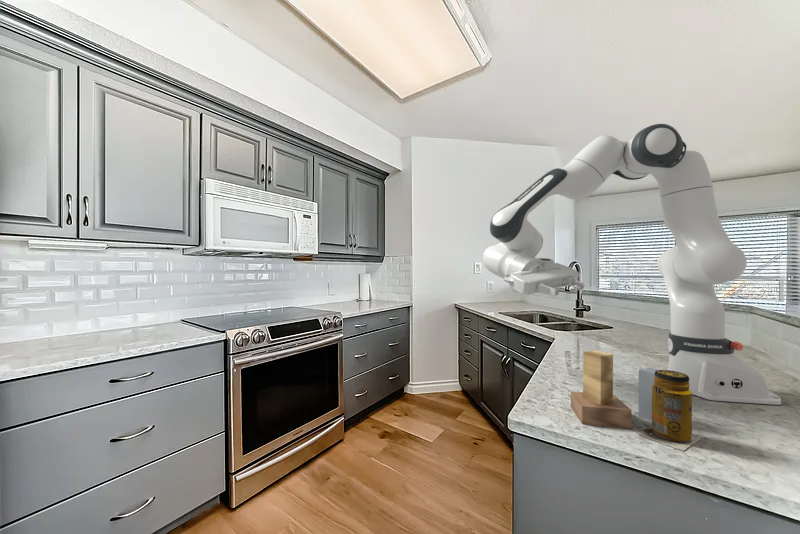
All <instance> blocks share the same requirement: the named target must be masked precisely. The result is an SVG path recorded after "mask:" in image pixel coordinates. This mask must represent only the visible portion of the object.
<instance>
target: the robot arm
mask: <svg viewBox="0 0 800 534" xmlns="http://www.w3.org/2000/svg"><path fill="white" fill-rule="evenodd" d="M611 175H615V176H618V177H620V178H622V179H624V180H630V181H637V180H641V179H644V178H646V177H647V176H649V175H651V176H652V177H653V178H654V179H655V181H656V182H657V184H658V187H659V196H660V204H661V210H662V217H663V223H664V226H665V227H666V228H667V229H668V230H669V231H670V233H671V234H672V237H673V239H674V241H675V243H676V245H675V246H673V247H670V248H668V249H667V250H666V251H664V252H662V253H661V255H660V256H659V257H658V259H657V269H658V271H659V273H660V275H661V276H662V278H663V281H664V285H665V289H666V292H667V296H668V300H669V309H670V310H669V312H670V313H669V314H670V315H669V316H670V332H669V333H668V339H667V350H668V354H669V359H668V365H667V369H666V370H671V371H676V372H680V373H684V374H686V375H688V376H689V379H690V380H689V384H690V387H689V389H690V391H691V392H692V396H693V395H694V396H697V397H699V398H703V399H706V400H709V401H717V402H731V403H746V404H760V405H761V404H762V405H777V406H780V405H782V399H781V397H780V396H778V395H777V394H776V393H774V392H772V391H770V390H769V389H768V384H767V381H766V378H765V376H764V374H763V373H762V372H761V371H760V370H759V369H757V368H755V367H754V366H752V365H751V364H750V363H748V362H747V361H745V360H744V359H742V358H741V357H740V356H739V355H737V354H736V353H734V352H735V351H737V352H739V351H742V350H744V349H745V347H744V344H742V343H741V342H738V341H732V340H730V339H728V338H726V337H725V336H726V335H725V332H726V331H725V329H726V328H725V327H726V326H725V325H726V322H725V320H726V318H725V313H726V312H725V307H724V305H723V304H722V303H721V301H720V300H719V298H718V297H717V295H716V292H715V288H714V285H720V284H726V283H729V282H731V281H735V280H736V279H738V278H740V276H742V274H743V273H744V272H745V271H746V268H747V257H746V254H745V253H744V250H742V249H741V248H740V247H738V246H737V245H736V244H734V243H733V242H732V241H731V239H730V237H729V236H728V234H727V232H726V231H725V229H724V227H723V224H722V222H721V220H720V218H719V214H718V210H717V205H716V200H715V192H714V188H713V182H712V177H711V174H710V170H709V168H708V165H707V163H706V160H705V158H704V156H703V155H702V153H700V152H698V151H695V150H687V144H686V143H685V142H684V140H683V139H682V137H681V134H680V133H679V131H678V130H677V129H676V128H674V127H673V126H671V125H669V124H666V123H657V124H651V125H649V126H647V127H645V128H643V129H641V130H640V131H638V132H637V133H636V134H635V135H634V136H632V137H631V138H630V139H629V140H628V141H622V140H619V138H617V137H615V136H611V135H607V134H605V135H599V136H597V137H596V138H594V139H593V140H592V141H590V142H589V143H588V144H587V145H585V146H584V147H583V148H582V149H580V151H578V153H577V154H576V155H575V156H574V157H573V158H572V159H570V161H569V162H568V163H567V164H565V165H564V166H562V167H561V168H553V169H551V170H549V171H547V172H545V174H543V175H541V177H540V178H538V179H537V180H535V182H534V183H532V184H531V185H530V186H528V188H526V189H525V190H523V192H522V193H521V194H519V195H518V196H517V197H516V198H515V199H513V200H512V201H511V202H510V203H507V205H505V206H503V207H502V208H500V209H499V210H498V211H496V212H494V214H493V216H492V218H491V220H490V224H489V231H490V234H491V236H492V237H494V238H495V239H496V240H497V241H498V242H499V243H497V244H494V245H490V246H488V247H486V248H485V250H484V252H483V254H482V256H483V257H482V261H483V265H484V267H485V268H486V270H488V271H489V272H490V273H492V274H493V275H495V276H497V277H499V278H501V279H502V280H503V282H505V283H507V284H508V286H509V287H510V288H512V289H513V290H514V291H516V292H518V293H519V294H521V295H525V296H529V295H533V294H542V295H543V294H544V295H548V296H551V297H557V296H558V295H559V294H560V293H559V292H560V289H562V288H565V287H573V289H574V290H576V291H583V290H584V289H585V283H584V282H582V281H579V276H580V273H579V271H577V270H576V269H575V268H571V267H569V266H567V265H565V264H562V263H558V262H555V260H554V259H551V258H546V257H545V258H544V257H543V258H542V257H541V258H540V257H537V255H538V253H540V251H541V249H542V248H543V246H544V245H543V243H544V238H543V235H542V234H541V233H540V232H539V230H537V228H536V227H535V226H534V225H533V224H532V223H531V222H530V221H529V219H528V216H529V214H530V213H531V212H532V211H534V210H535V209H536V208H537V207H538V206H540V205H541V204H542V203H543V202H545V201H546V200H547V199H548V198H549V197H552V196H554V195H559V196H562V197H565V198H567V199H570V200H583V199H586V198H588V197H590V196H591V195H593V194H594V193H595V192H596V191H597V190H598V189H599V188H600V187H601V186H602V185H603V184H604V183H605V182H606V181H607V179H608V178H609V177H610V176H611Z"/></svg>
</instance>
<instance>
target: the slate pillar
mask: <svg viewBox="0 0 800 534" xmlns="http://www.w3.org/2000/svg"><path fill="white" fill-rule="evenodd" d="M657 370H658V369H657V368H653V367H649V368H642V369H638V417H640V418H642V417H643V418H642V419H645V418H646V419H645V420H647V421H650V420H651V421H650V422H652V385H653V384H654V379H655V375H654V373H655V371H657Z"/></svg>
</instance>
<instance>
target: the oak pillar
mask: <svg viewBox="0 0 800 534" xmlns="http://www.w3.org/2000/svg"><path fill="white" fill-rule="evenodd" d="M582 356H583V357H582V360H583V361H582V362H583V363H582V364H583V365H582V370H583V371H582V373H583V374H582V392H583V398H584V399H587V400H590V401H592V402H595V403H598V404H600V405H601V404H605V403H609V402H613V395H614V354H613V353H608V352H604V351H601V350H595V349H593V350H588V351H583V355H582Z"/></svg>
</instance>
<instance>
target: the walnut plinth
mask: <svg viewBox="0 0 800 534" xmlns="http://www.w3.org/2000/svg"><path fill="white" fill-rule="evenodd" d="M570 409H571V410H572V411H573V412H574V415H575V416H576V418H578V420H579V421H580V423H581V424H582V425H588V426H598V427H608V428H618V427H620V428H621V429H631V430H632V427H633V426H632V423H633V422H632V419H633V418H632V411H633V410H632V409H631V408H629V407H628V406H627V405H626V404H625V403H624V402H623V401H622V400H621V399H620V398H618V396H617V395H616V394H613V402H609V403H605V404H601V405H600V404H598V403H595V402H592V401H590V400H587V399H584V398H583V391H570ZM620 428H619V429H620Z"/></svg>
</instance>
